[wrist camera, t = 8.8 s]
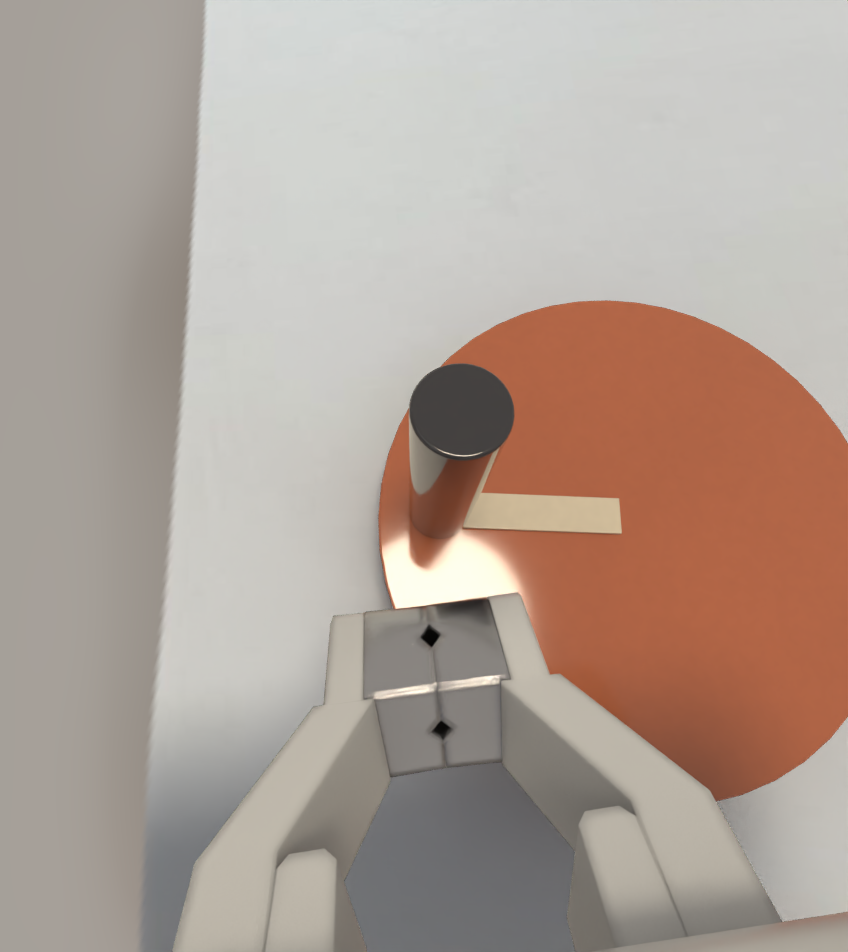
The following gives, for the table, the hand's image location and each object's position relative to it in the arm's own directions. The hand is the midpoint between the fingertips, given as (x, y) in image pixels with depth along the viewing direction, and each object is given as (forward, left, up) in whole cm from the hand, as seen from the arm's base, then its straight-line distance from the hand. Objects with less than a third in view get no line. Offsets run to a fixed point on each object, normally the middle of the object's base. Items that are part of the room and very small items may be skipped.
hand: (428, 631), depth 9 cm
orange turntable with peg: (+5, -6, -9) cm, 12 cm away
